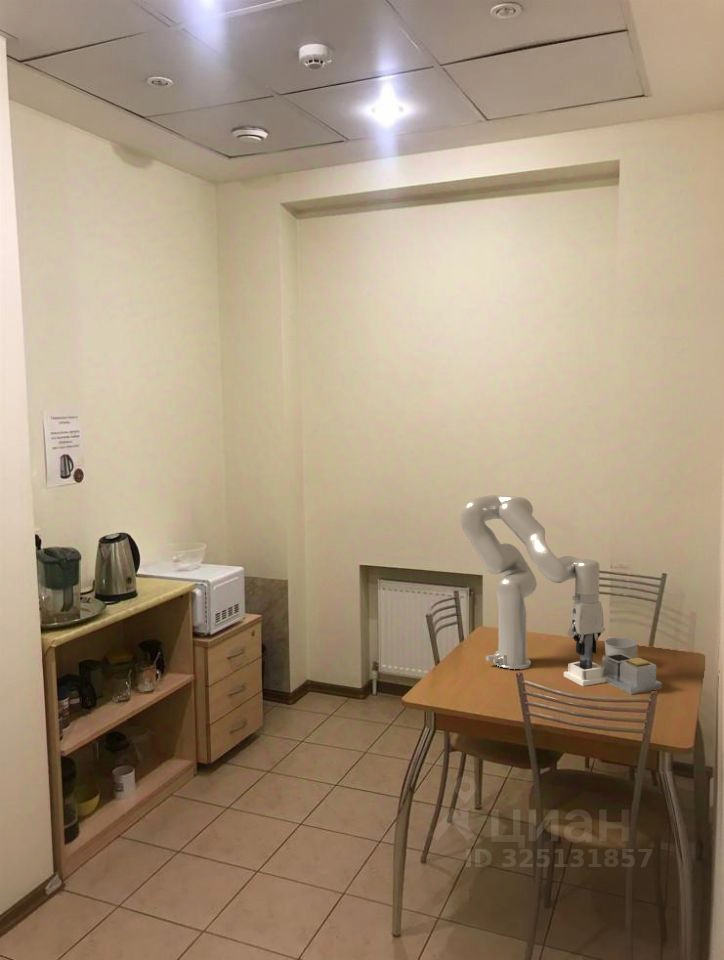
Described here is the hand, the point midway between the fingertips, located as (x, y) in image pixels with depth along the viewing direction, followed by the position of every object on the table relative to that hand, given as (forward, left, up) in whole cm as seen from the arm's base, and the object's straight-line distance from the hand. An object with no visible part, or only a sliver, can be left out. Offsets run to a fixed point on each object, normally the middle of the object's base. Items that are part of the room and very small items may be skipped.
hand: (586, 652), depth 252 cm
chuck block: (+10, -8, -9) cm, 16 cm away
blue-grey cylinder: (0, 0, -6) cm, 6 cm away
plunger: (+10, -13, -6) cm, 17 cm away
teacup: (+21, +9, -9) cm, 25 cm away
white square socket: (0, 0, -9) cm, 9 cm away
